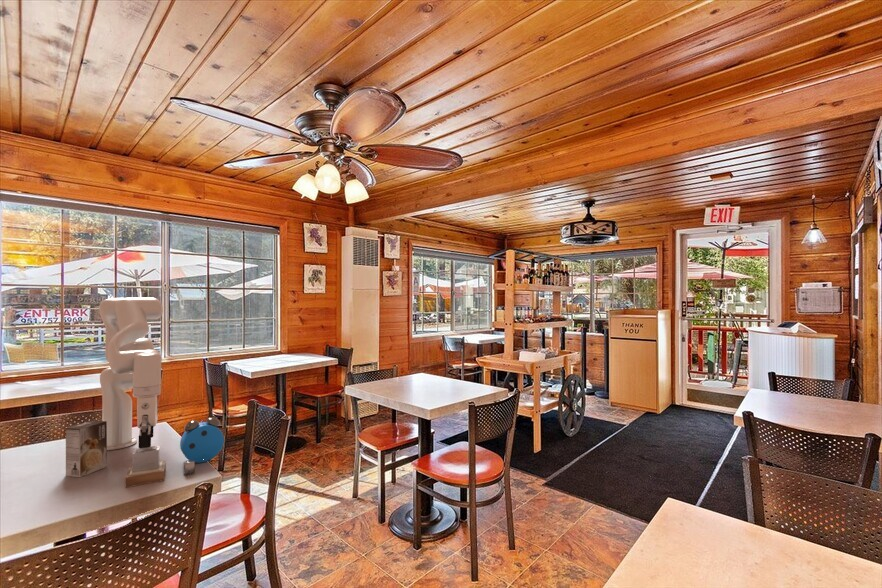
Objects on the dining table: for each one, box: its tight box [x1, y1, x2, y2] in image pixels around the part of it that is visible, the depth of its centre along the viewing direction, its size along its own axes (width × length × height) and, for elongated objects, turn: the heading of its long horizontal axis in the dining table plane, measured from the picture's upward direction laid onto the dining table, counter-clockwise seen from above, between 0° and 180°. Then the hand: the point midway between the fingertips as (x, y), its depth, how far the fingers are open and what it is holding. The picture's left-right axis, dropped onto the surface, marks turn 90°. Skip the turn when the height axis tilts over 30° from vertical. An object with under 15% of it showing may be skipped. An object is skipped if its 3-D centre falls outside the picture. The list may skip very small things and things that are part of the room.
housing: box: [131, 445, 161, 473], centre depth 137 cm, size 5×7×6 cm
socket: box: [183, 459, 196, 477], centre depth 141 cm, size 3×3×4 cm
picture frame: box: [124, 460, 167, 488], centre depth 137 cm, size 10×10×3 cm
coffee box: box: [65, 420, 108, 478], centre depth 143 cm, size 9×6×16 cm
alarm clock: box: [179, 416, 225, 464], centre depth 152 cm, size 13×6×15 cm, turn 131°
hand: (146, 442), depth 138 cm, fingers open, 9 cm apart
